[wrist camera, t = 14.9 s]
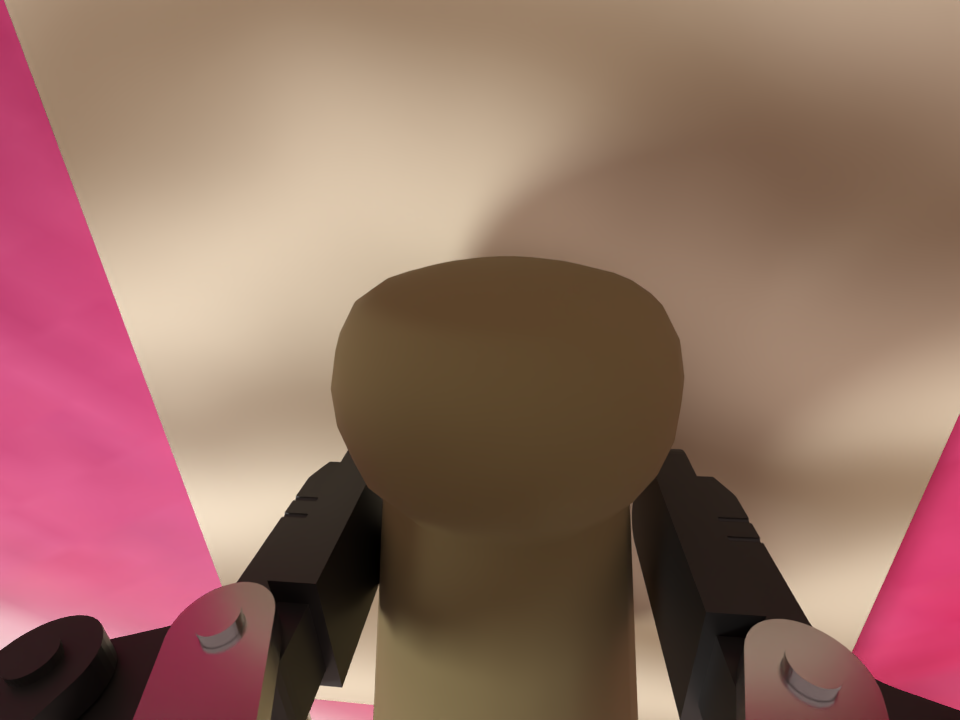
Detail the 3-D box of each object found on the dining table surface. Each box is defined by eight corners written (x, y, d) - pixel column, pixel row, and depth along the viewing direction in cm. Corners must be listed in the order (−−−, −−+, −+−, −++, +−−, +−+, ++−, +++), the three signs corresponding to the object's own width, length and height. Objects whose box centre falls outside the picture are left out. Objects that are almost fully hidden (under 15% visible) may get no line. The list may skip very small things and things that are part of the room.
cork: (574, 1064, 7) (683, 388, 3) (310, 789, 10) (178, 283, 6) (670, 701, 11) (763, 250, 7) (469, 591, 15) (458, 233, 11)
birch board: (789, 705, 15) (808, 747, 14) (279, 659, 17) (262, 693, 16) (1170, -258, 6) (1300, -340, 5) (20, -122, 8) (-56, -161, 7)
